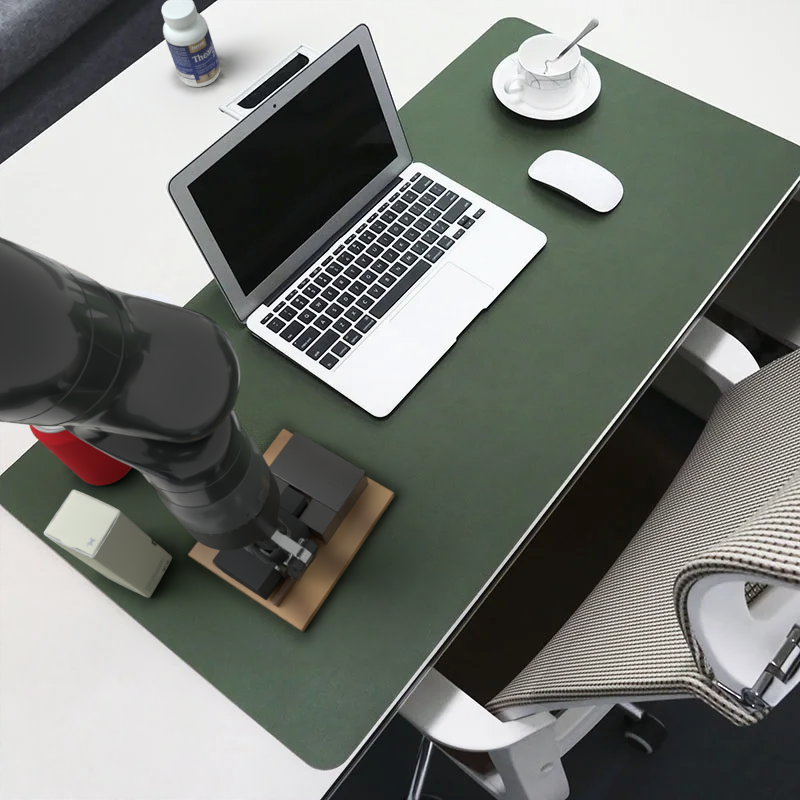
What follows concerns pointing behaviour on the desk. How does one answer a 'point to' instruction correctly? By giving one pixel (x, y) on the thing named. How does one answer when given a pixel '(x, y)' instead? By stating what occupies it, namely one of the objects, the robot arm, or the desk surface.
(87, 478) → the beverage can
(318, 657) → the desk surface
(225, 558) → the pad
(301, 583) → the dock
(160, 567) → the box
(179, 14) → the pill bottle
